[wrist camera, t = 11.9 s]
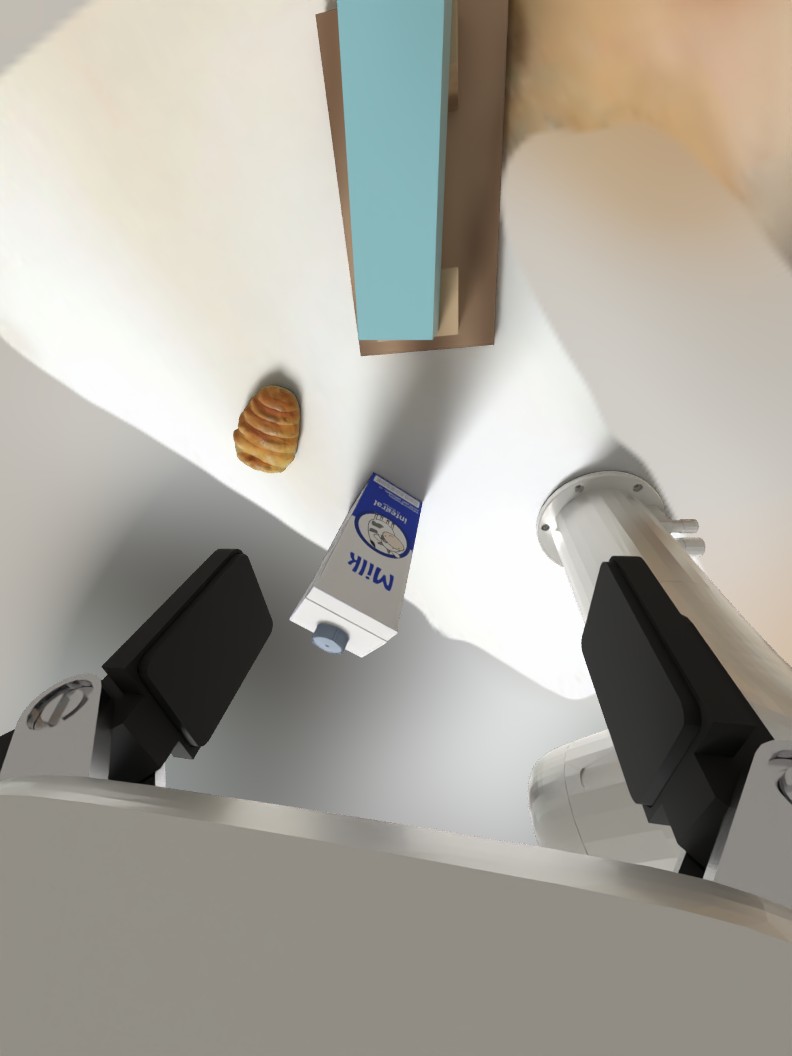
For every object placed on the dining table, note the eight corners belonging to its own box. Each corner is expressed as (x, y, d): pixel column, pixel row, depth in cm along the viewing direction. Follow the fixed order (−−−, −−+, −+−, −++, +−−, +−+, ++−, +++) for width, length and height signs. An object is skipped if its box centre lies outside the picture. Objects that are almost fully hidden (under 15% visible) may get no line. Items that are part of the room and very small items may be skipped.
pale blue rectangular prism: (454, -38, 18) (450, -170, 13) (438, 331, 26) (432, 339, 21) (364, -25, 18) (327, -145, 13) (377, 332, 27) (358, 339, 22)
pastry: (257, 369, 38) (238, 376, 34) (316, 401, 38) (303, 411, 35) (239, 445, 43) (221, 457, 39) (291, 472, 44) (278, 486, 40)
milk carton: (424, 503, 43) (398, 635, 26) (394, 540, 46) (356, 678, 30) (372, 471, 41) (311, 588, 25) (346, 512, 45) (278, 638, 28)
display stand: (507, -20, 22) (524, -143, 16) (492, 342, 33) (499, 353, 26) (323, 29, 24) (274, -64, 18) (364, 354, 35) (343, 366, 29)
